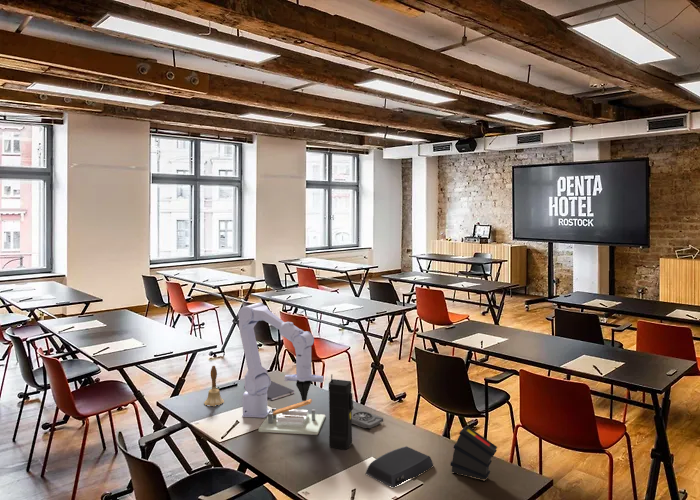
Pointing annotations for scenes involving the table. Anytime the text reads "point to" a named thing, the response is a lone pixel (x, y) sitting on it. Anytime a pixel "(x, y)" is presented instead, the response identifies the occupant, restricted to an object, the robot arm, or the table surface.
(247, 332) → the robot arm
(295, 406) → the strap
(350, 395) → the portable radio
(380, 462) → the external hard drive
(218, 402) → the hand bell
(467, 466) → the magazine
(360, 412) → the graphics card
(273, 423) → the heatsink board
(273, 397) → the notebook
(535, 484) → the table surface
